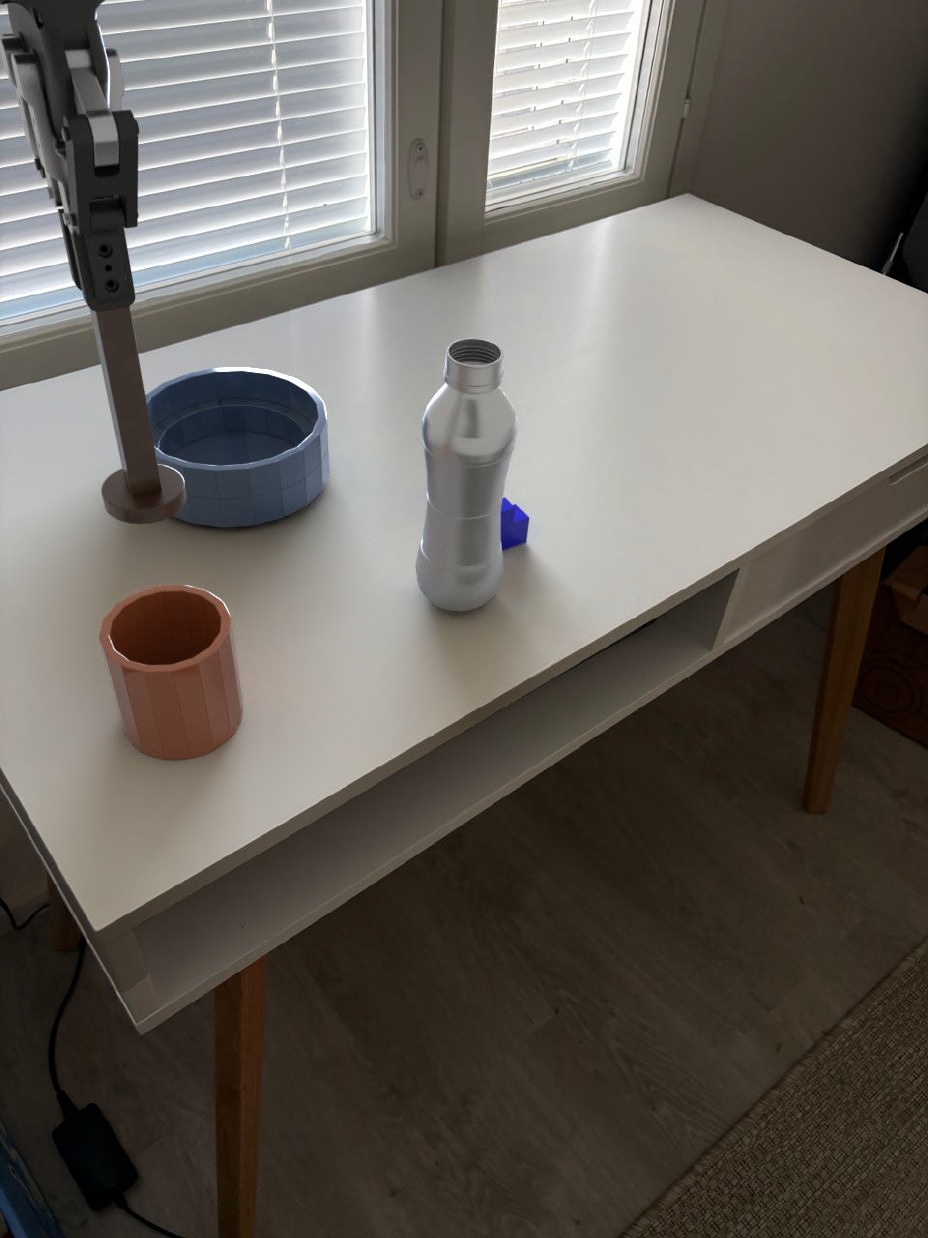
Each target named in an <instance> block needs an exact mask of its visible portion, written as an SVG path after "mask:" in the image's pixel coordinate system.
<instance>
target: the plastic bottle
mask: <svg viewBox="0 0 928 1238" xmlns="http://www.w3.org/2000/svg"><path fill="white" fill-rule="evenodd" d="M444 362H445V363H444V367H443V374H442V377H443V381H444V382H445V384H443V386H442V387H441V388H439V390H438V391H437V392H436V393H435V394H434V396H433V398H431V400H430V401H429V403H428V404H427V406H426V408H425V411H424V414H423V416H422V421H421V435H422V436H421V437H422V443H423V453H424V461H425V469H426V510H425V517H424V525H423V531H422V537H421V540H420V544H419V546H418V551H417V556H416V561H415V573H416V578H417V585H418V587H419V590H420V591H421V593H422V594H423V596H424V597H425V598H426V599H427V600H428V601H430V603H431V604H433V605H435V606H436V607H437V608H440V609H442V610H444V611H445V610H446V611H450V612H468V611H472V610H475V609H478V608H480V607H481V606H483V605H484V604H486V603H487V602H489V601H490V600H491V599H492V598H493V597H494V595H495V594H497V592H498V588H499V586H500V583H501V580H502V578H503V575H504V553H503V551H502V546H501V504H502V498H504V493H505V492H504V491H505V485H506V479H507V475H508V472H509V467H510V464H511V460H512V457H513V452H514V449H515V445H516V443H517V442H516V441H517V436H518V431H519V423H518V419H517V414H516V410H515V408H514V406H513V404H512V403H511V401H510V399H509V397H508V396H507V394H506V393H505V392H504V390H503V389H502V387H501V385H502V383H503V380H504V369H503V367H504V366H503V365H504V352H503V348H502V347H501V346H500V345H499V344H498V343H496V342H493V341H491V340H489V339H485V338H478V337H466V338H460V339H457V340H455V341H453V342H451V343H450V344H449V345H448V346H447V348H446V350H445V361H444Z"/></svg>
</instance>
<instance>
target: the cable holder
mask: <svg viewBox="0 0 928 1238" xmlns="http://www.w3.org/2000/svg"><path fill="white" fill-rule="evenodd" d="M529 525H530V516H529V515H528V514H527V513H525V511H524V510H522V509H521V508H520V506H519V505H518V504H516V503H514V504H512V503H511V502H510V500H508V499H507V497H505V496H503V498H502V504H501V546H502V552H503V551H505V550H508V549H511V548H514V547H518V546H520V545H524V544H525V543H526V544H527V540H528V533H529Z"/></svg>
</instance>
